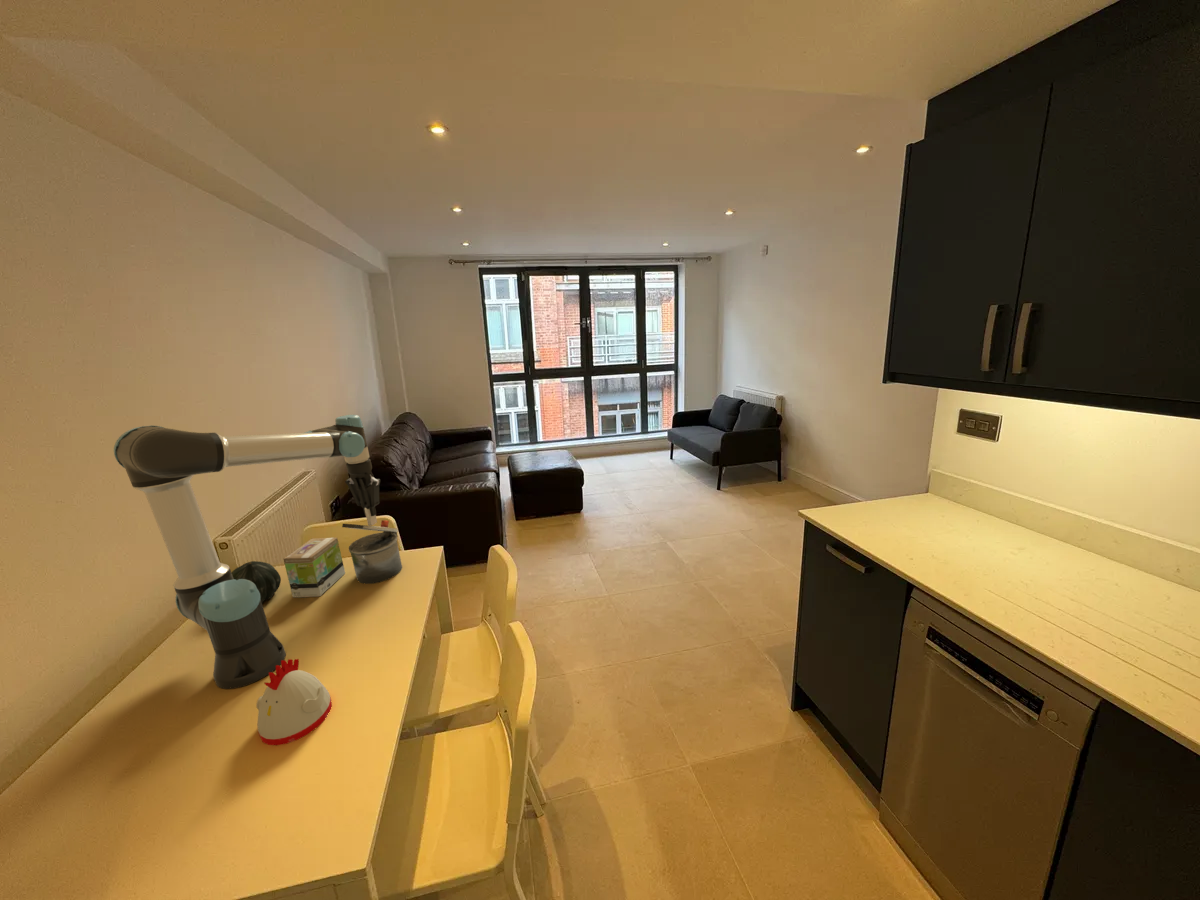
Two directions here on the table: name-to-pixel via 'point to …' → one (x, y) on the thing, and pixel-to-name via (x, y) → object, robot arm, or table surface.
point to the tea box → (314, 567)
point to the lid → (372, 527)
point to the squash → (259, 577)
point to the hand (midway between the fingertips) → (372, 523)
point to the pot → (376, 557)
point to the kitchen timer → (291, 704)
